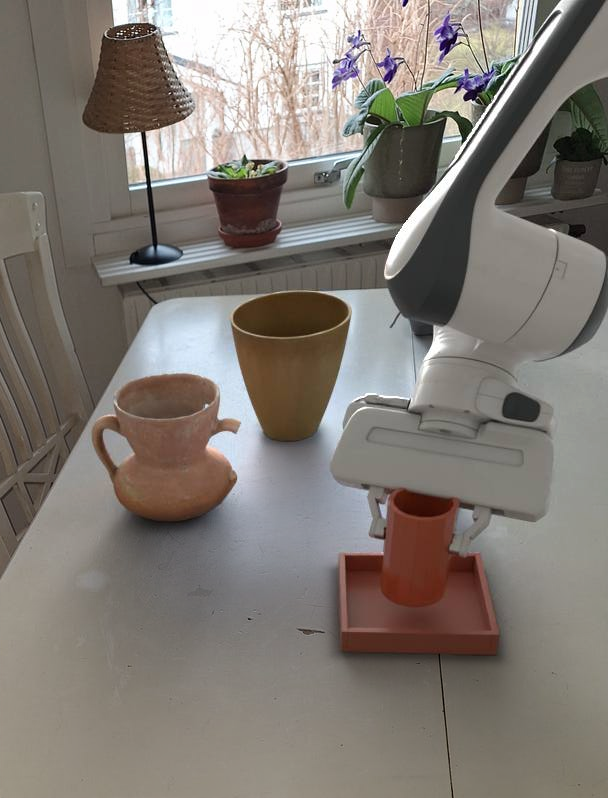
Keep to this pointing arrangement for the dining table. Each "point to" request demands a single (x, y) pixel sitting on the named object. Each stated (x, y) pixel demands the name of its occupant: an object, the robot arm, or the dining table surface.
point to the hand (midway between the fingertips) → (416, 546)
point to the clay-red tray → (415, 611)
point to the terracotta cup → (417, 548)
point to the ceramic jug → (168, 447)
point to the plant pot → (290, 357)
